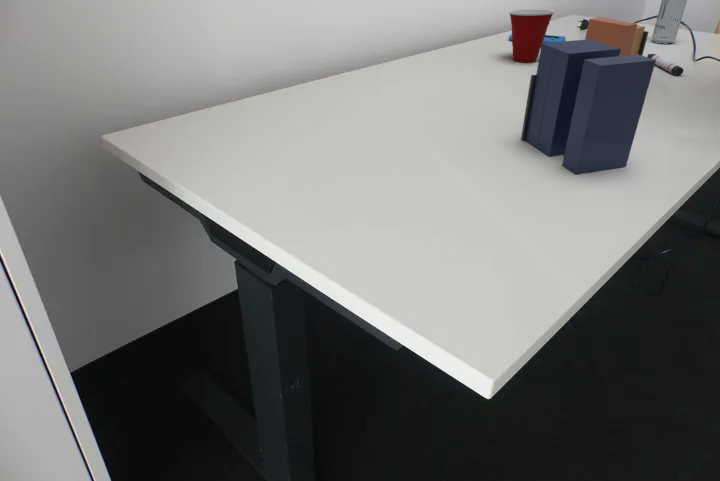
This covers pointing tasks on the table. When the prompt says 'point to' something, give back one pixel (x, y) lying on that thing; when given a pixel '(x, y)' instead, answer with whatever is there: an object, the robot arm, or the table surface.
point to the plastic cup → (528, 32)
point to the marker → (666, 64)
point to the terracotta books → (618, 35)
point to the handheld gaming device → (548, 38)
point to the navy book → (607, 112)
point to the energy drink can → (668, 21)
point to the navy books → (557, 92)
